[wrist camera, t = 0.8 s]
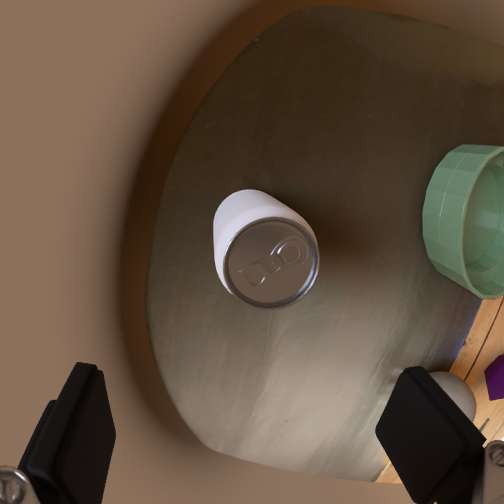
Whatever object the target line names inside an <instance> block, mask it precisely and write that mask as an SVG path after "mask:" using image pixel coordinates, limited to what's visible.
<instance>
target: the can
mask: <svg viewBox="0 0 504 504" xmlns="http://www.w3.org/2000/svg"><path fill="white" fill-rule="evenodd" d="M213 230H214V255H215V264H216V269H217V272H218V275H219V277H220V280H221V281H222V283H223V285H224V286H225V287H226V289H227V290H228V291H229V292H230V293H231V294H233V295H234V297H235V298H236V299H238V300H239V301H240V302H241V303H243V304H245V305H246V306H248V307H251V308H254V309H257V310H263V311H274V310H280V309H284V308H287V307H289V306H291V305H293V304H295V303H297V302H298V301H299V300H301V299H302V298H303V297H304V296H305V295H306V294H307V293H308V292H309V291H310V289H311V288H312V287H313V285H314V283H315V281H316V279H317V276H318V273H319V269H320V253H319V249H318V245H317V240H316V237H315V235H314V233H313V231H312V229H311V227H310V226H309V224H308V223H307V222H306V221H305V220H304V219H303V218H302V217H301V216H300V215H299V214H297V213H296V212H295V211H293V210H292V209H290V208H289V207H287V206H286V205H284V204H283V203H281V202H280V201H278V200H276V199H275V198H273V197H272V196H270V195H268V194H266V193H264V192H262V191H258V190H241V191H238V192H235V193H233V194H231V195H230V196H228V197H227V198H226V199H225V200H224V201H223V202H222V203H221V204H220V206H219V207H218V209H217V211H216V214H215V217H214V227H213Z"/></svg>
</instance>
